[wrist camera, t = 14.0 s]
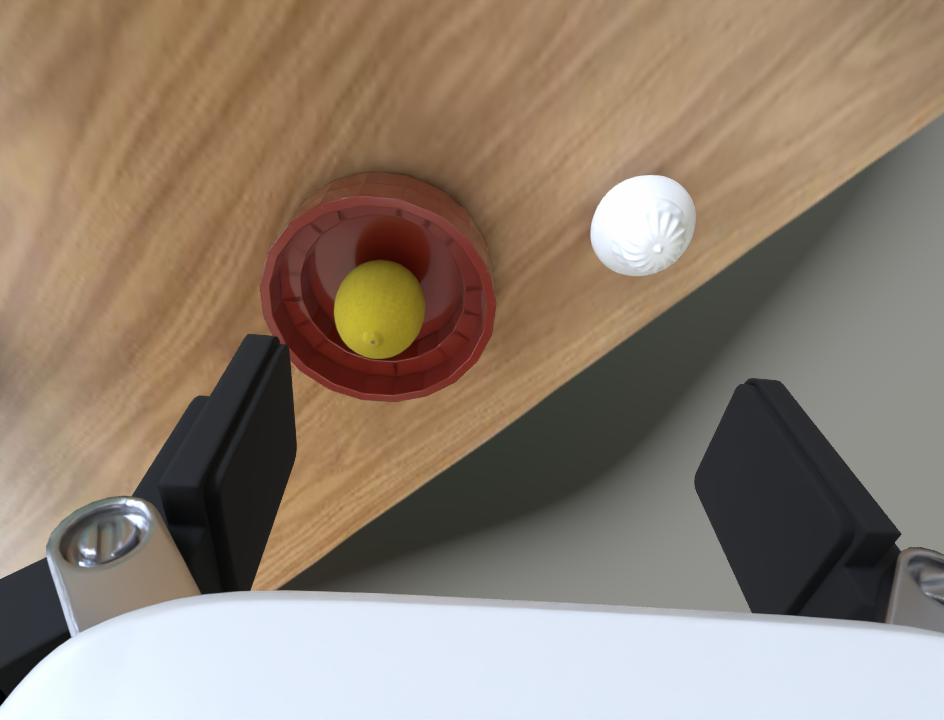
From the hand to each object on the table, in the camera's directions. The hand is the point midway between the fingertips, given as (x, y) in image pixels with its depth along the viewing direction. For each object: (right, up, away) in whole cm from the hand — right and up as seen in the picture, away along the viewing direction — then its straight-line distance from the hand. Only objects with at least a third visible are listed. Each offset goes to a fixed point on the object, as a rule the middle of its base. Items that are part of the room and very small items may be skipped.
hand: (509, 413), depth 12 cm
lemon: (-7, +7, +27) cm, 28 cm away
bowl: (-7, +7, +27) cm, 29 cm away
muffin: (+9, +11, +25) cm, 29 cm away
